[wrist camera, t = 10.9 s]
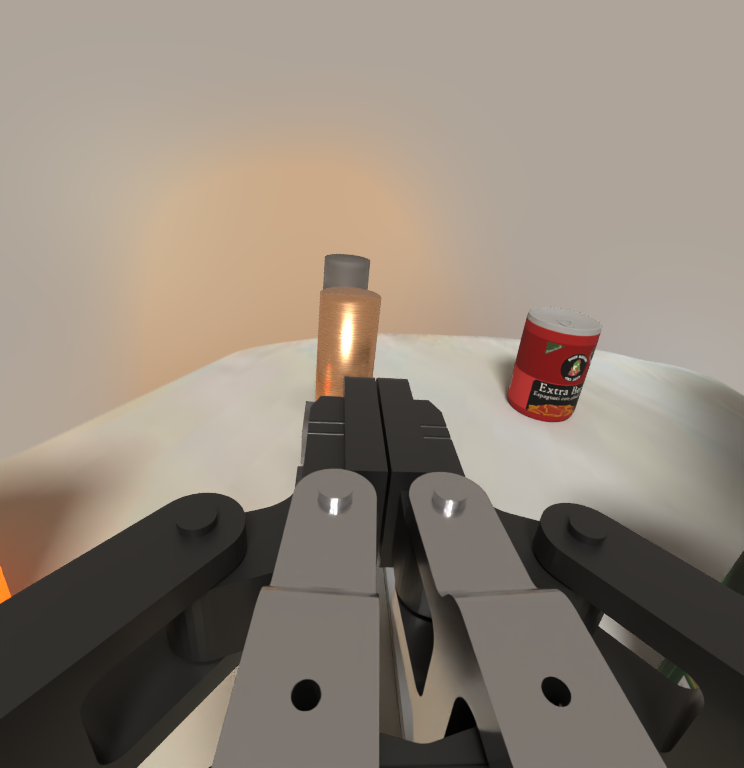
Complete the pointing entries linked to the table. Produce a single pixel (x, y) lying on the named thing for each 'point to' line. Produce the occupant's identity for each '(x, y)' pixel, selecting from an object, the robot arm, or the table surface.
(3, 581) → the orange juice
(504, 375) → the table surface
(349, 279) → the grey metal fixture
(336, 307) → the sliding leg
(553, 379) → the canned food
